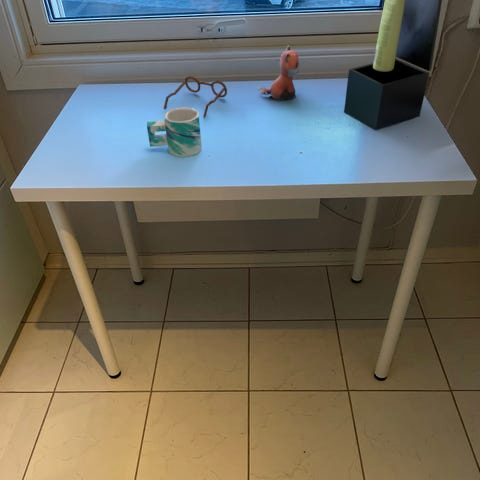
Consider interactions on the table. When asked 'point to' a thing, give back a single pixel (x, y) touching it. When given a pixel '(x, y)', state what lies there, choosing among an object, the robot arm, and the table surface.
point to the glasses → (198, 91)
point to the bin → (385, 94)
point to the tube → (388, 35)
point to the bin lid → (419, 32)
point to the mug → (177, 132)
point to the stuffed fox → (284, 77)
